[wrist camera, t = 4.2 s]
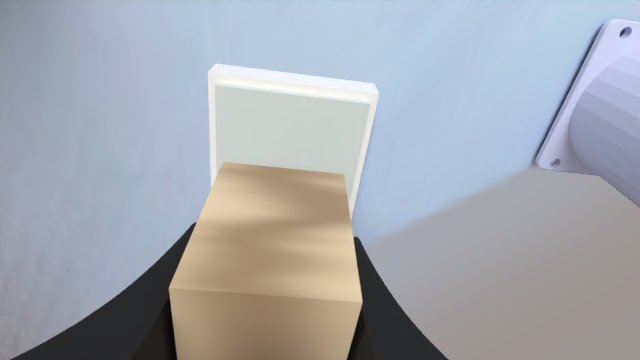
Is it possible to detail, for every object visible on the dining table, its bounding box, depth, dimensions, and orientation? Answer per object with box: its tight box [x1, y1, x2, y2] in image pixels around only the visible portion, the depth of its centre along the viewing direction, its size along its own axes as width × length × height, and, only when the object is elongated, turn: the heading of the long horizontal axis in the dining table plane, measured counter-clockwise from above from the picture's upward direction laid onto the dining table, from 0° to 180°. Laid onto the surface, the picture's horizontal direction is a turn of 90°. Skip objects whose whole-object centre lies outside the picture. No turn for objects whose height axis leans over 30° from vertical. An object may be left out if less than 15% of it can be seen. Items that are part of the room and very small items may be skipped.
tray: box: [208, 64, 379, 219], centre depth 20 cm, size 8×8×2 cm
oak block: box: [169, 162, 363, 360], centre depth 12 cm, size 4×4×6 cm
